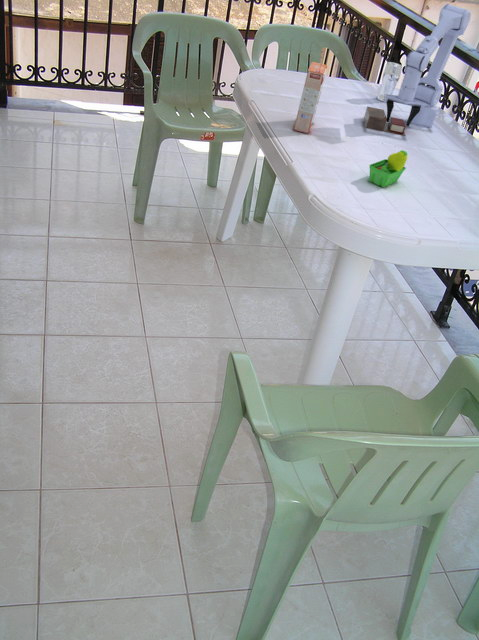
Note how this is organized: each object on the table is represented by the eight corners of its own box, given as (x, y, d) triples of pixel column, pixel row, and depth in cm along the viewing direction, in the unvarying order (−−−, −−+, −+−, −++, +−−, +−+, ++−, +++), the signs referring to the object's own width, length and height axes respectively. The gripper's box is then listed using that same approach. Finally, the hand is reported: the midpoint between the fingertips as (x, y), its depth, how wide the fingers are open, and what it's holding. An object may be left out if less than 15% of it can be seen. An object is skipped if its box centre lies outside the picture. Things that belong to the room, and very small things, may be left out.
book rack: (400, 129, 261) (405, 114, 258) (404, 140, 251) (409, 124, 248) (362, 121, 261) (367, 106, 257) (364, 131, 251) (369, 115, 247)
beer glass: (373, 97, 293) (383, 61, 285) (385, 97, 296) (396, 62, 288) (382, 102, 288) (393, 66, 280) (395, 103, 292) (406, 67, 283)
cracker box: (309, 134, 236) (324, 73, 225) (292, 130, 237) (306, 69, 225) (313, 123, 248) (328, 64, 236) (297, 119, 248) (311, 60, 237)
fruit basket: (381, 173, 218) (391, 139, 211) (405, 184, 214) (417, 149, 207) (363, 180, 210) (374, 145, 203) (388, 191, 206) (400, 156, 199)
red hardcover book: (400, 127, 258) (403, 119, 257) (403, 134, 252) (405, 126, 250) (388, 124, 258) (390, 116, 257) (390, 131, 252) (392, 123, 250)
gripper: (390, 85, 243) (379, 122, 250) (430, 93, 243) (417, 130, 251) (388, 80, 249) (377, 116, 256) (427, 88, 249) (415, 124, 257)
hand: (397, 123), depth 254 cm, fingers open, 7 cm apart
